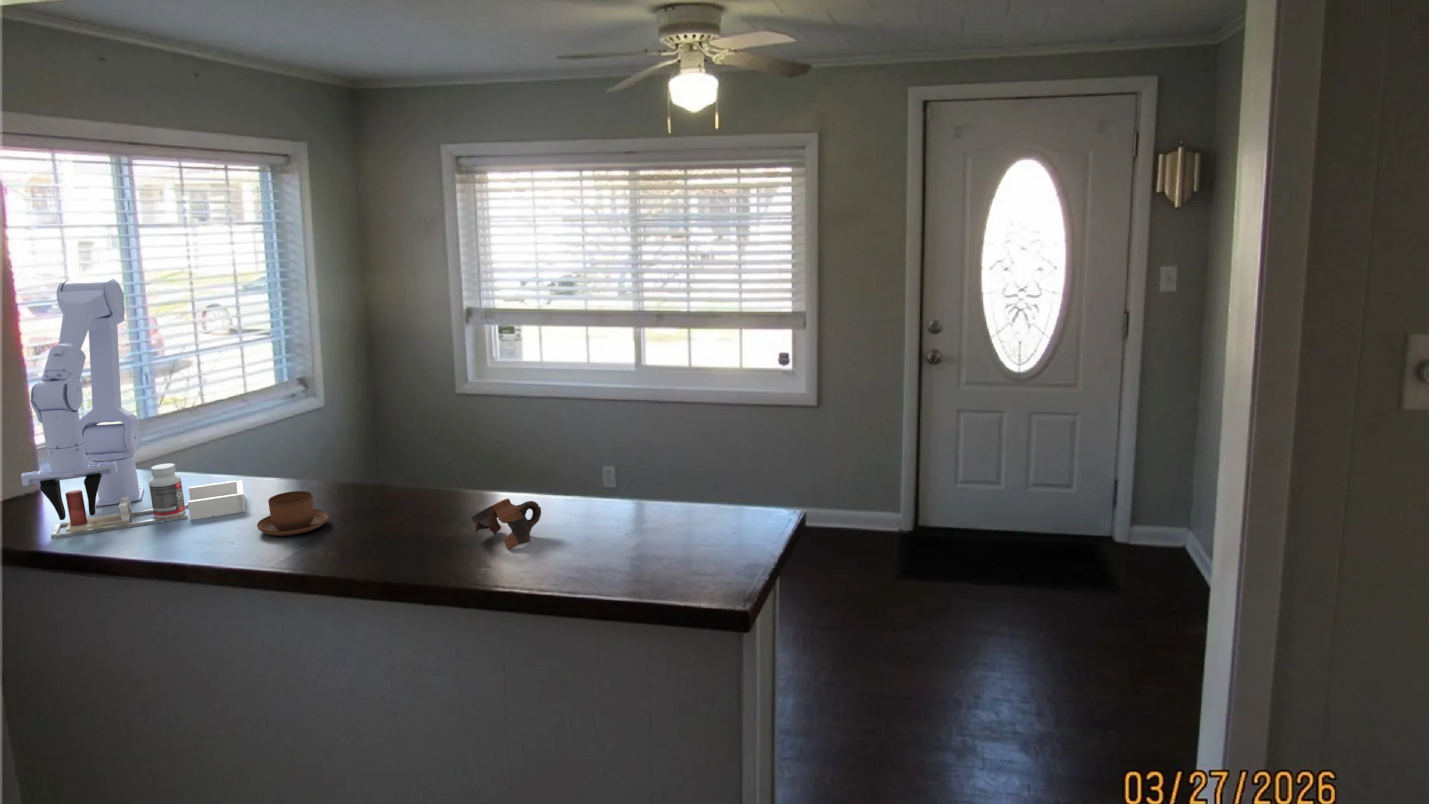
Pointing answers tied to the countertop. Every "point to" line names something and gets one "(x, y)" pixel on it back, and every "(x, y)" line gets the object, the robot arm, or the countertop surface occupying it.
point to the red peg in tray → (82, 522)
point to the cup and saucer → (292, 514)
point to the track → (113, 527)
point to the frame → (216, 499)
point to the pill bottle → (166, 491)
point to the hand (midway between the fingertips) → (77, 516)
